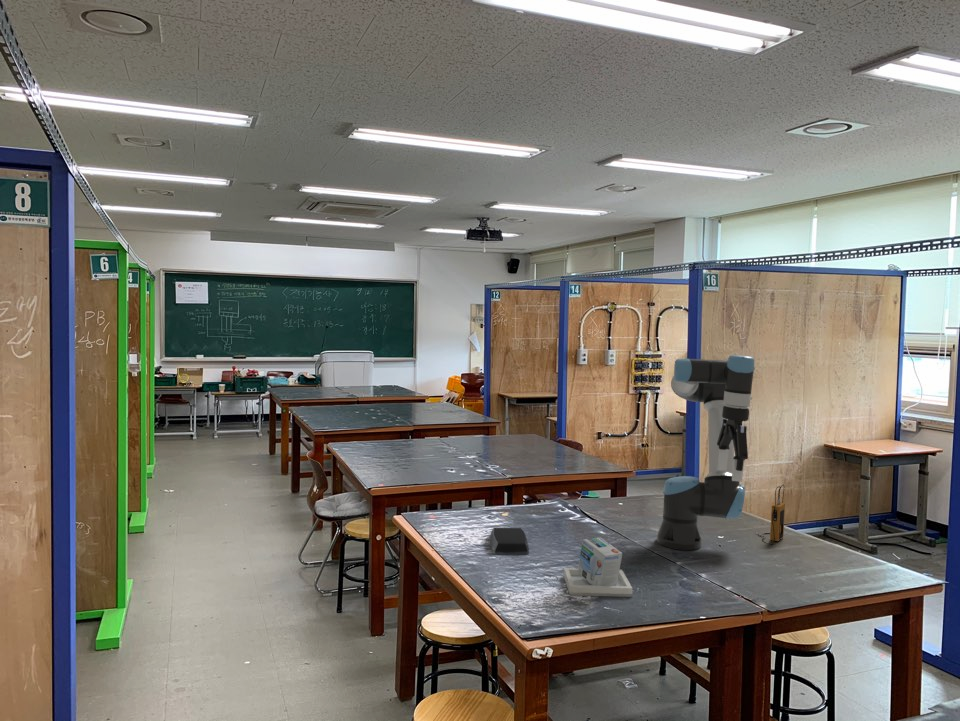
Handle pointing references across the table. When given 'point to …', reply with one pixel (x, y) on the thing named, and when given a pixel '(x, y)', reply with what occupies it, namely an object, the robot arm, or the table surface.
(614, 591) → the housing tray
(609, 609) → the table surface
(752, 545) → the table surface
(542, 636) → the table surface
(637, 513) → the table surface
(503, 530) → the external hard drive
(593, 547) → the light bulb box
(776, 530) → the multimeter
